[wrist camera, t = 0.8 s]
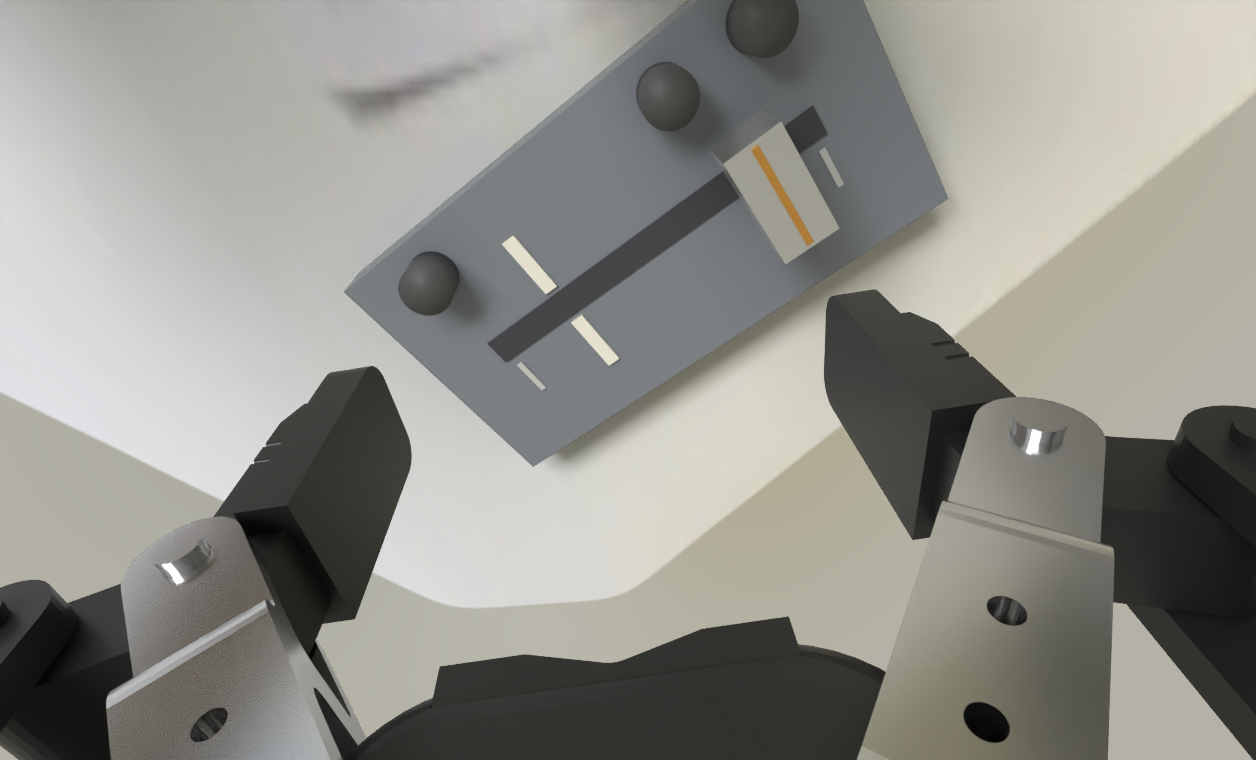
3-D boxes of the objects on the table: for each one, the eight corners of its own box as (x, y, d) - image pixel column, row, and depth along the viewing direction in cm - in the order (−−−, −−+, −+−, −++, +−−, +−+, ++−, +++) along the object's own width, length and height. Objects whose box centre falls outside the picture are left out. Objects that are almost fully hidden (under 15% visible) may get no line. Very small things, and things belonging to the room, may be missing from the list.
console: (799, -92, 25) (839, -109, 21) (923, 185, 32) (971, 210, 28) (359, 272, 32) (329, 309, 28) (535, 441, 38) (531, 489, 34)
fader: (750, 104, 26) (781, 121, 22) (803, 198, 29) (840, 229, 25) (701, 141, 27) (723, 164, 23) (757, 230, 29) (786, 265, 25)
